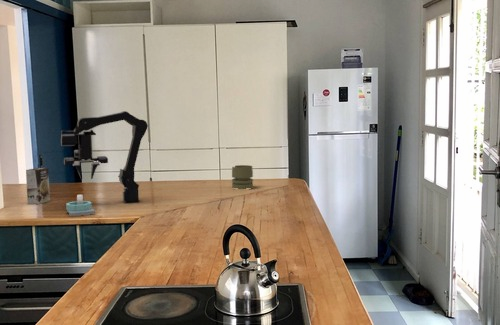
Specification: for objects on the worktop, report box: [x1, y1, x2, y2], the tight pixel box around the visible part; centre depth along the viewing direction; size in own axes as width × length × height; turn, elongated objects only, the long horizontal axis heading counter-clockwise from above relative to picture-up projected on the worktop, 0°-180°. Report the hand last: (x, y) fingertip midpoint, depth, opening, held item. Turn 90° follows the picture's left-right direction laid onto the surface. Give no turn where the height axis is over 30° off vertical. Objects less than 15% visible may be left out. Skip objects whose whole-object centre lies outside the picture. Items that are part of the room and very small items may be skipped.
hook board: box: [65, 194, 96, 217], centre depth 223 cm, size 10×15×8 cm, turn 25°
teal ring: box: [65, 200, 93, 212], centre depth 223 cm, size 10×10×2 cm
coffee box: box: [25, 167, 51, 205], centre depth 247 cm, size 9×6×16 cm
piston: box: [231, 164, 254, 189], centre depth 284 cm, size 11×12×11 cm
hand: (86, 179), depth 238 cm, fingers open, 4 cm apart
